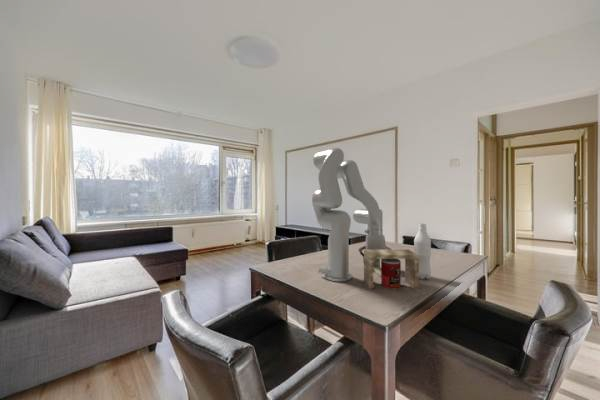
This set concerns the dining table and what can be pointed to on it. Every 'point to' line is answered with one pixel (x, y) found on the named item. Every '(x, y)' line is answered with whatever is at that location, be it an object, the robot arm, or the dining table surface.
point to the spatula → (377, 266)
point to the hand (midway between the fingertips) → (375, 264)
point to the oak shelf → (408, 255)
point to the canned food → (391, 273)
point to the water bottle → (423, 251)
